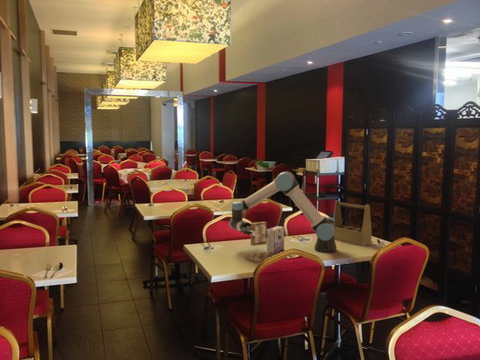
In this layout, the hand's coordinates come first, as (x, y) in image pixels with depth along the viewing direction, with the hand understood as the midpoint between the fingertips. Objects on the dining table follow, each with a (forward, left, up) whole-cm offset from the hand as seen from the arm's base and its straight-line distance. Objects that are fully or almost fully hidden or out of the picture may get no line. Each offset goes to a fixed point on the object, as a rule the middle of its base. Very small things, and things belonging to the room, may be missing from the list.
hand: (262, 233), depth 284 cm
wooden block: (0, -4, -8) cm, 9 cm away
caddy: (-87, -11, -18) cm, 90 cm away
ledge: (0, -4, -18) cm, 18 cm away
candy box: (-21, -15, -18) cm, 32 cm away
